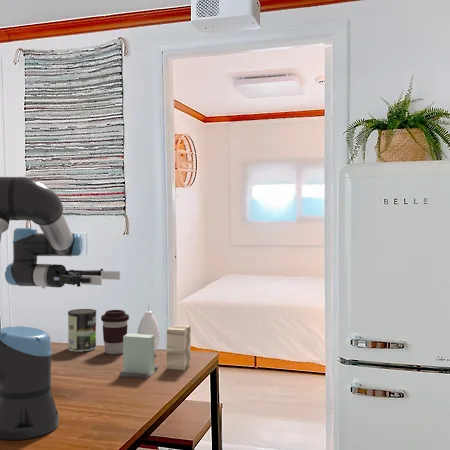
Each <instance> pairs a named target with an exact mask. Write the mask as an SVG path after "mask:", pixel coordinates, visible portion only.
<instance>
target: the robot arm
mask: <svg viewBox="0 0 450 450" xmlns="http://www.w3.org/2000/svg"><path fill="white" fill-rule="evenodd" d="M63 211H64V206H63V203H62V201H61V199H60V197H59V196H58V194H57V193H56V192H55V191H54V190H52V189H51V188H50V187H49V186H48V185H46V184H44V183H43V182H40V181H38V180H37V179H34V178H30V177H26V176H0V242H2V241H1V239H2V234H3V233H5V232H6V231H7V230H8V229H9V227H10V221H29V222H30V221H31V222H33V223H34V224H36V225H38V226H39V228H40V230H41V231H42V233H41V232H38V229H37V227H17V228H14V230H13V237H12V238H13V240H12V248H13V249H12V252H13V253H12V255H13V261H12V263H9V264H7V266H6V267H5V271H4V278H5V281H6V283H7V284H9V285H11V286H19V287H41V289H45V288H49V287H50V288H62V287H64V286H65V284H66V285H72V286H75V285H76V287H78V288H79V287H81V285H87V286H88V285H89V286H90V285H91V286H92V285H93V286H103V285H102V284H103V283H102V280H117V281H118V280H120V281H121V271H119V270H118V271H117V270H104V268H100V269H97V270H95V269H94V270H93V269H92V270H88V269H87V270H85V269H84V270H80V269H79V270H78V269H77V270H76V269H68V270H67V268H66V266H65V265H63V264H58V263H57V264H52V263H38V257H77V256H80V255H81V254H82V251H83V237H82V235H81V234H79V233H74V232H73V233H72V232H71V229H70V227H69V225H68V223H67V221H66V220H67V219H66V218H65V216H64V213H63ZM51 342H52V341H51V337H50V335H49V333H48V332H46V331H45V330H43V329H39V328H36V327H30V326H19V325H18V326H6V327H3V328H1V329H0V440H1V439H2V440H7V441H16V440H17V441H19V440H21V441H22V440H27V439H33V438H38V437H41V436H44V435H46V434H49V433H51V432H53V431H55V429H56V428H58V426H59V424H60V421H59V420H60V419H59V417H60V416H59V412H58V410H57V406H56V403H55V400H54V398H53V394H52V354H53V351H52V344H51Z"/></svg>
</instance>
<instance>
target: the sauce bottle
mask: <svg viewBox="0 0 450 450" xmlns="http://www.w3.org/2000/svg"><path fill="white" fill-rule="evenodd" d="M138 324H139V325H138V328H137V333H136V334H146V335H155V349H154V352H156V350H157V349H158V347H159V344H160V337H161V336H160V328H159V323H158V321H157V319H156V317H155V315H154V314H153V311H151V310H150V304H149V303H148V304H147V310H146V311H144V314H143V315H142V317H141V318H140V322H139V323H138Z"/></svg>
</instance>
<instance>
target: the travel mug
mask: <svg viewBox="0 0 450 450" xmlns="http://www.w3.org/2000/svg"><path fill="white" fill-rule="evenodd" d="M100 317H101V318H100V321H102V336H103V337H102V338H103V339H102V340H103V342H104V353H106V354H108V355H120V354H123V336H124V335H126V334H128V321H129V320H130V315H129V314H128V313H126V311H125V310H124V309H110V310H106V311H105V312H104V314H103V315H101V316H100Z"/></svg>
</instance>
